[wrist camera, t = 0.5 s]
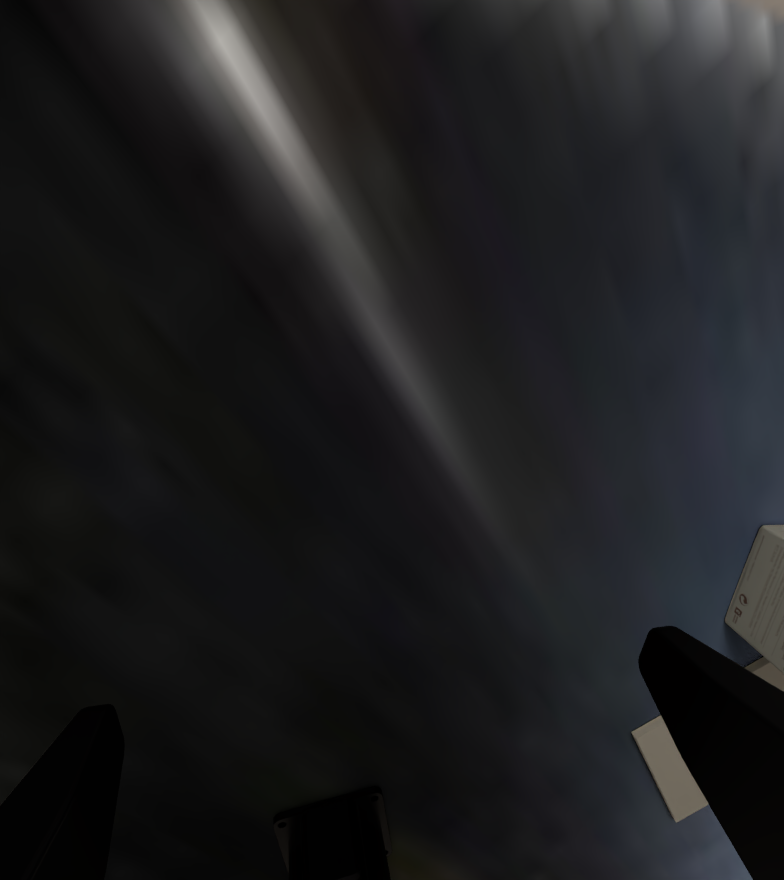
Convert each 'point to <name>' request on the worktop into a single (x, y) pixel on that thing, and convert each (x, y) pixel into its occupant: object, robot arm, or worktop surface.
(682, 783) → the grey mat
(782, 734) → the robot arm
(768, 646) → the supplement box
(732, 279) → the worktop surface
